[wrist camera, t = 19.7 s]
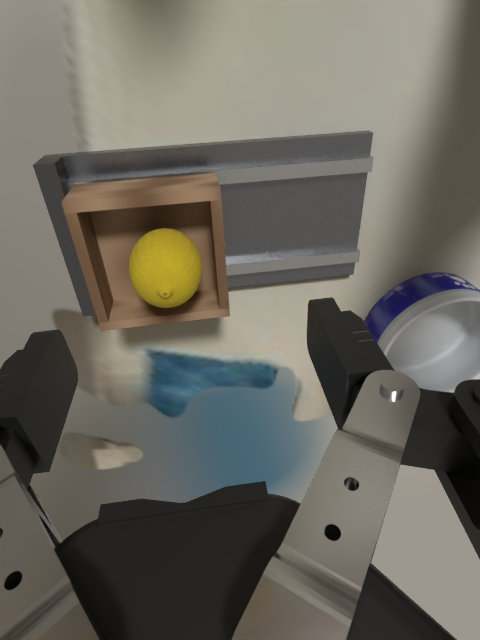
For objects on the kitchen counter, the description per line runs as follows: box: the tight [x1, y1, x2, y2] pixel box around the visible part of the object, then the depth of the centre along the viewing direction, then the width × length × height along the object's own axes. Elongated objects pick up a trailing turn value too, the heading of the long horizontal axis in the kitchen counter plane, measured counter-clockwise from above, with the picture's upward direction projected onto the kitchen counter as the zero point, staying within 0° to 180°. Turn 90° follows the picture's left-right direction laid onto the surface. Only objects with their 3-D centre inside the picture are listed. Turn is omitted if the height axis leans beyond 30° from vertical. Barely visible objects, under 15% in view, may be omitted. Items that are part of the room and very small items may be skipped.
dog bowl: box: [364, 273, 480, 393], centre depth 47 cm, size 15×15×6 cm
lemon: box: [129, 228, 202, 308], centre depth 30 cm, size 6×6×8 cm
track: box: [33, 131, 373, 316], centre depth 36 cm, size 28×14×3 cm, turn 93°
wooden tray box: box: [61, 173, 230, 331], centre depth 33 cm, size 11×11×6 cm
